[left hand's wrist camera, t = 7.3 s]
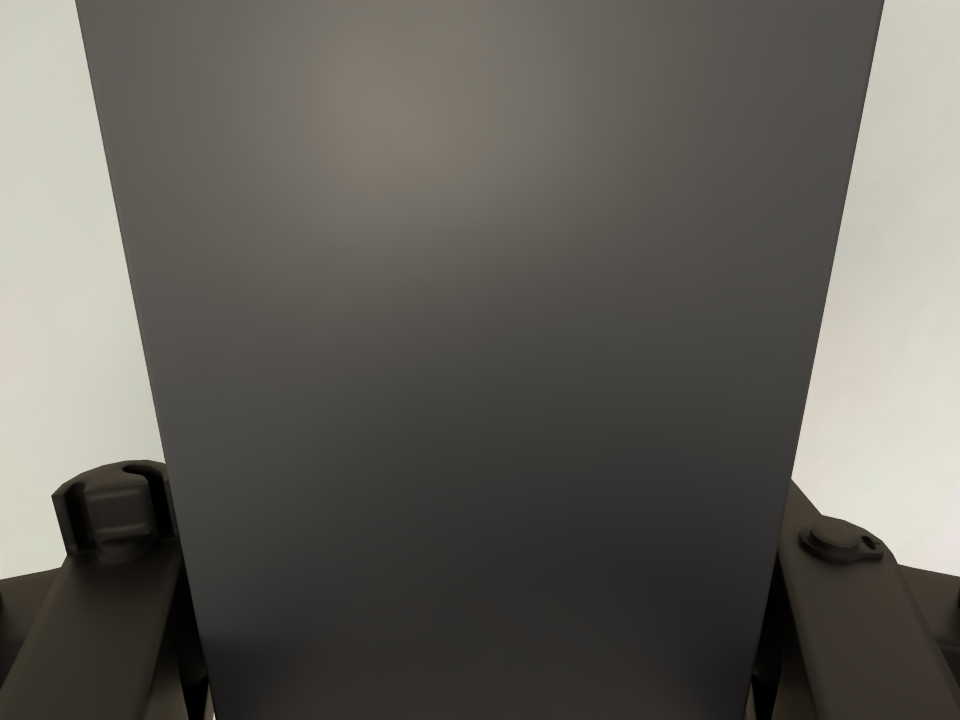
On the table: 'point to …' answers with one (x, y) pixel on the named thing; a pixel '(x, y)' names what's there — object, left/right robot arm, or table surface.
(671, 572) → the bar
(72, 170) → the table surface
